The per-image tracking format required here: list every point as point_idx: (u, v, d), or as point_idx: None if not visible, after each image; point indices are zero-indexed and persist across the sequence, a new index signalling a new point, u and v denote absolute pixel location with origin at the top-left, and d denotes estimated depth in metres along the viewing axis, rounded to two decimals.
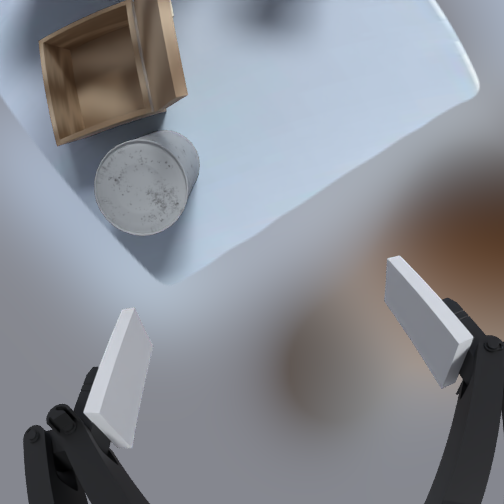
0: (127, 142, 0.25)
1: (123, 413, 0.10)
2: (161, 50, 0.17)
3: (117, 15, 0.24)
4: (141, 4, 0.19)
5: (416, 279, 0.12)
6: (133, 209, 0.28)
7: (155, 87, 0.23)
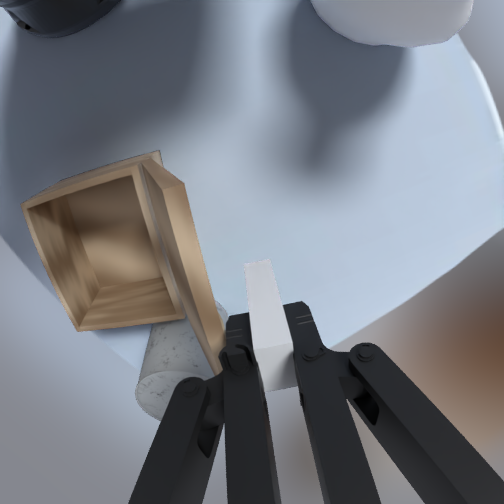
0: (168, 371, 0.24)
1: None
2: (214, 367, 0.16)
3: None
4: (161, 226, 0.18)
5: (269, 281, 0.15)
6: None
7: (194, 329, 0.22)
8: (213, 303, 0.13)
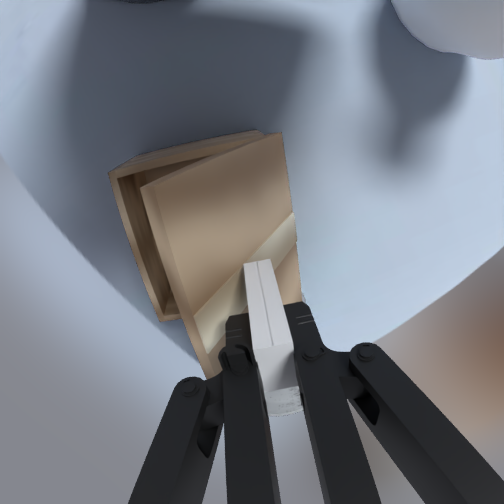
0: None
1: None
2: None
3: None
4: None
5: (270, 281, 0.15)
6: (272, 400, 0.27)
7: None
8: (186, 300, 0.13)
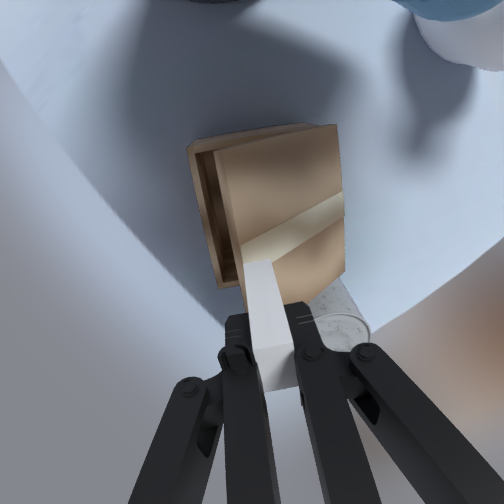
0: (329, 314, 0.28)
1: None
2: None
3: None
4: None
5: (270, 281, 0.15)
6: None
7: None
8: (235, 232, 0.19)
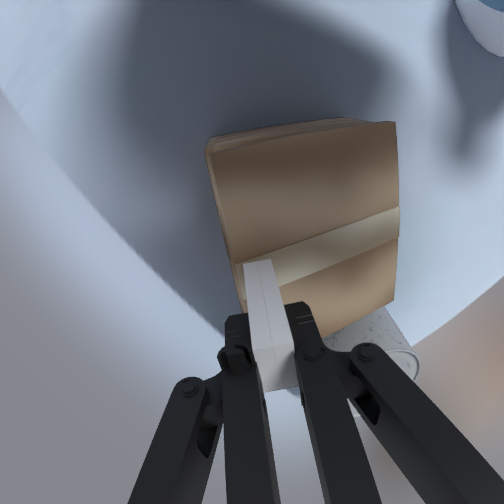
0: None
1: None
2: None
3: None
4: None
5: (270, 281, 0.15)
6: None
7: None
8: (230, 248, 0.16)
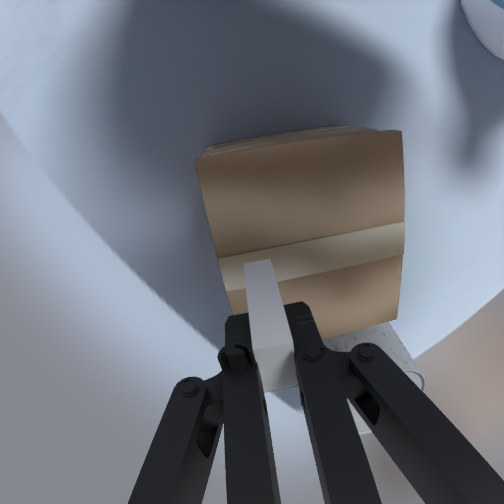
0: None
1: None
2: None
3: None
4: None
5: (270, 281, 0.15)
6: (362, 419, 0.23)
7: None
8: None
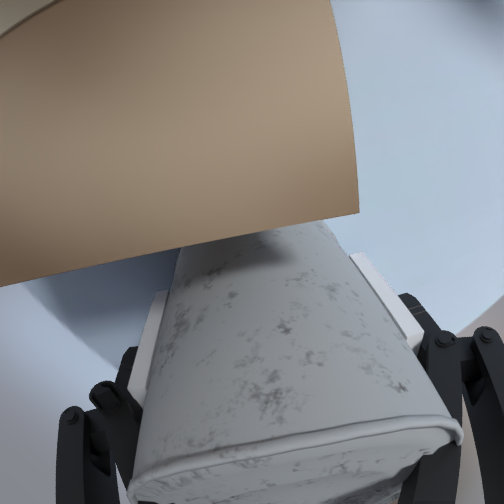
0: (298, 445, 0.04)
1: None
2: None
3: None
4: None
5: (374, 274, 0.13)
6: None
7: None
8: None
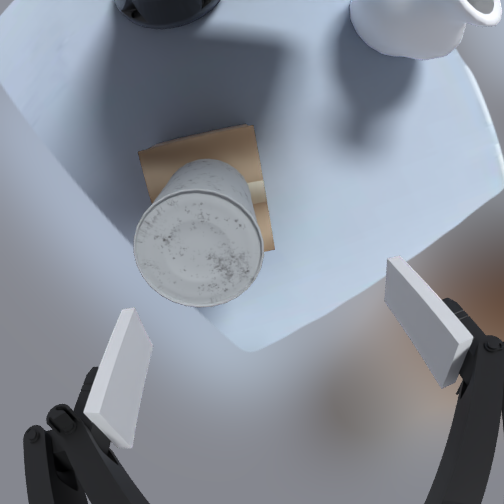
0: (182, 191, 0.20)
1: (123, 413, 0.10)
2: None
3: None
4: None
5: (416, 279, 0.12)
6: (188, 276, 0.23)
7: None
8: None
